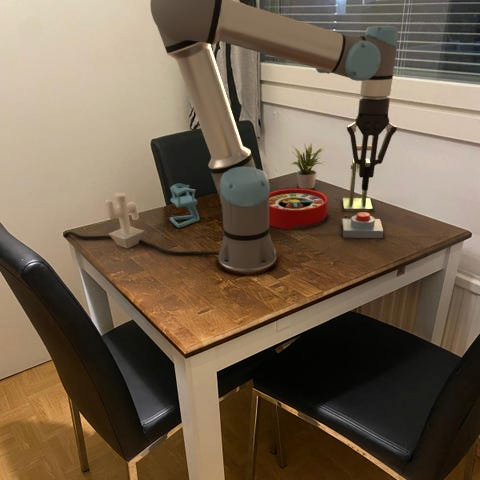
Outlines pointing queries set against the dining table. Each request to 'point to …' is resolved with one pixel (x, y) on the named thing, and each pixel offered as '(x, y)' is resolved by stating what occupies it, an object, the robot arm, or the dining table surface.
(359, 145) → the lever
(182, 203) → the chair
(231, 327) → the dining table surface
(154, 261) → the dining table surface
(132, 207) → the figurine
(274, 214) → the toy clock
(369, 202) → the frame stand
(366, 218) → the button
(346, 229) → the button box
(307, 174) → the house plant
